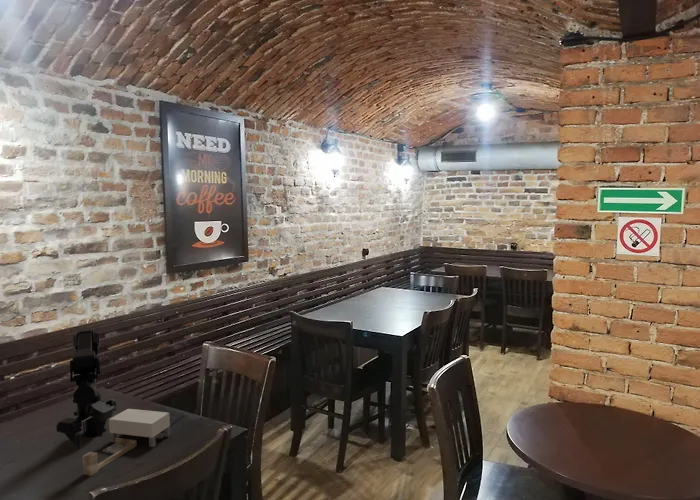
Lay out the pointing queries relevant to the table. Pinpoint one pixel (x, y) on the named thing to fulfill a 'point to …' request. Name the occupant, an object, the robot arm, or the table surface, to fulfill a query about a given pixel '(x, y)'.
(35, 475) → the table surface
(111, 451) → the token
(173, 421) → the bracket
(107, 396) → the table surface
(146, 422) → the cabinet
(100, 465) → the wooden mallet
